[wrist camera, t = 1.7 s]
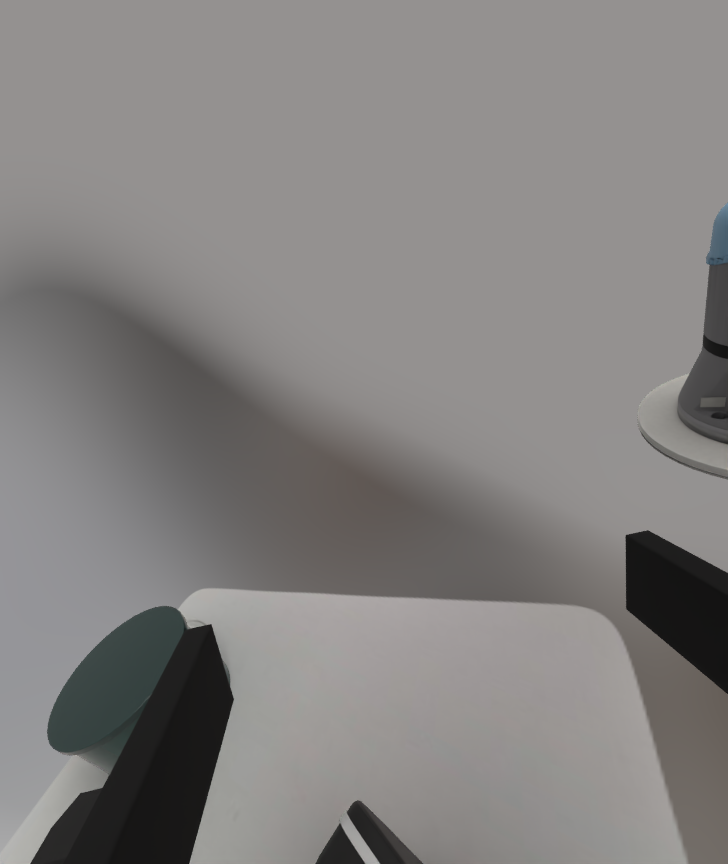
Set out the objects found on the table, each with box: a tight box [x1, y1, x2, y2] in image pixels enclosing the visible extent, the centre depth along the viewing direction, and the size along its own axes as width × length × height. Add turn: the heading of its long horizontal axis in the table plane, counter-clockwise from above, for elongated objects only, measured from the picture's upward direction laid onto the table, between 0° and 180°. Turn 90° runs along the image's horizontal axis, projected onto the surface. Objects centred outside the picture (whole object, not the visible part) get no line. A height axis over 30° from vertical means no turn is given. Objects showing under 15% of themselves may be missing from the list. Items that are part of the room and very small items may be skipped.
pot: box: [47, 606, 230, 774], centre depth 33 cm, size 12×12×9 cm
